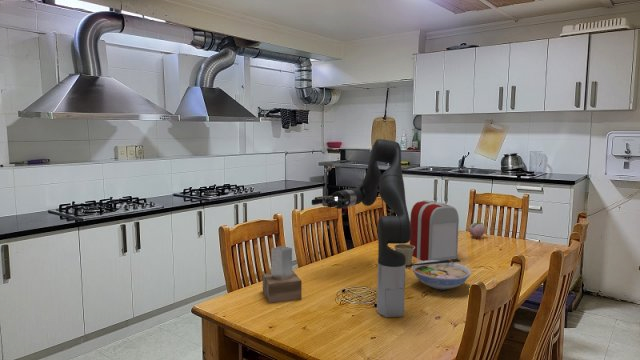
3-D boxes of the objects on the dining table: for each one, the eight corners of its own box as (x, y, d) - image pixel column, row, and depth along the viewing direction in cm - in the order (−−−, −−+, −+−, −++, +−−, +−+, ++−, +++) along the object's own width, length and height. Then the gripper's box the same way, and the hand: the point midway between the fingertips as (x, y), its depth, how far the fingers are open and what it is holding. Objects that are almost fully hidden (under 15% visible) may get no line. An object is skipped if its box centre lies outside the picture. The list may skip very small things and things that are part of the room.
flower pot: (414, 268, 197) (415, 250, 196) (393, 267, 199) (393, 248, 198) (414, 262, 207) (414, 244, 206) (394, 261, 208) (394, 243, 208)
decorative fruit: (474, 235, 260) (474, 219, 258) (487, 238, 253) (487, 221, 252) (465, 238, 254) (465, 221, 253) (478, 240, 247) (479, 223, 246)
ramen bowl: (426, 300, 161) (426, 278, 160) (398, 279, 183) (399, 260, 182) (485, 294, 168) (486, 273, 167) (452, 274, 189) (452, 256, 189)
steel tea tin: (292, 276, 165) (292, 248, 164) (281, 280, 161) (281, 251, 159) (281, 273, 168) (281, 245, 167) (271, 277, 164) (271, 248, 163)
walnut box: (301, 299, 161) (301, 280, 161) (269, 303, 158) (269, 284, 157) (293, 288, 173) (293, 270, 172) (262, 291, 169) (262, 273, 168)
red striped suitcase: (435, 251, 227) (437, 199, 223) (458, 260, 210) (460, 204, 207) (408, 254, 221) (409, 200, 217) (428, 264, 204) (430, 206, 201)
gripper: (331, 188, 195) (307, 192, 182) (357, 191, 186) (334, 196, 173) (331, 205, 196) (307, 210, 183) (357, 209, 187) (334, 215, 174)
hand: (320, 203), depth 178 cm, fingers open, 8 cm apart
